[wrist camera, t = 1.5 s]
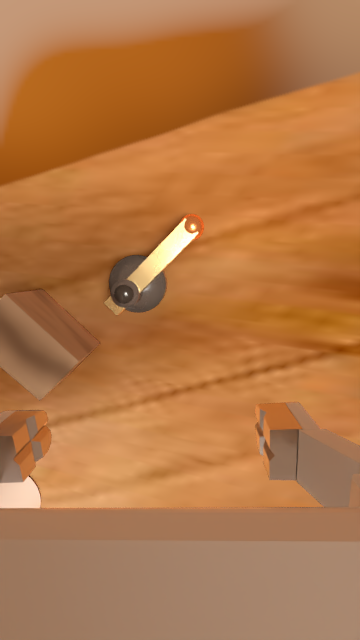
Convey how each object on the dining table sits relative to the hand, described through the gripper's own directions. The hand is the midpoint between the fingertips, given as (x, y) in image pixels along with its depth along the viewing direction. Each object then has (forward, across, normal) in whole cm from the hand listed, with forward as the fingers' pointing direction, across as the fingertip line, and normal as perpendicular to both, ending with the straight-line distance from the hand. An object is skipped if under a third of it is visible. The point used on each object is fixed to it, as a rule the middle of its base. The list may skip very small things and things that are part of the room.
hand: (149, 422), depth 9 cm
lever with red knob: (+28, +3, -6) cm, 29 cm away
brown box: (+28, +20, +3) cm, 35 cm away
